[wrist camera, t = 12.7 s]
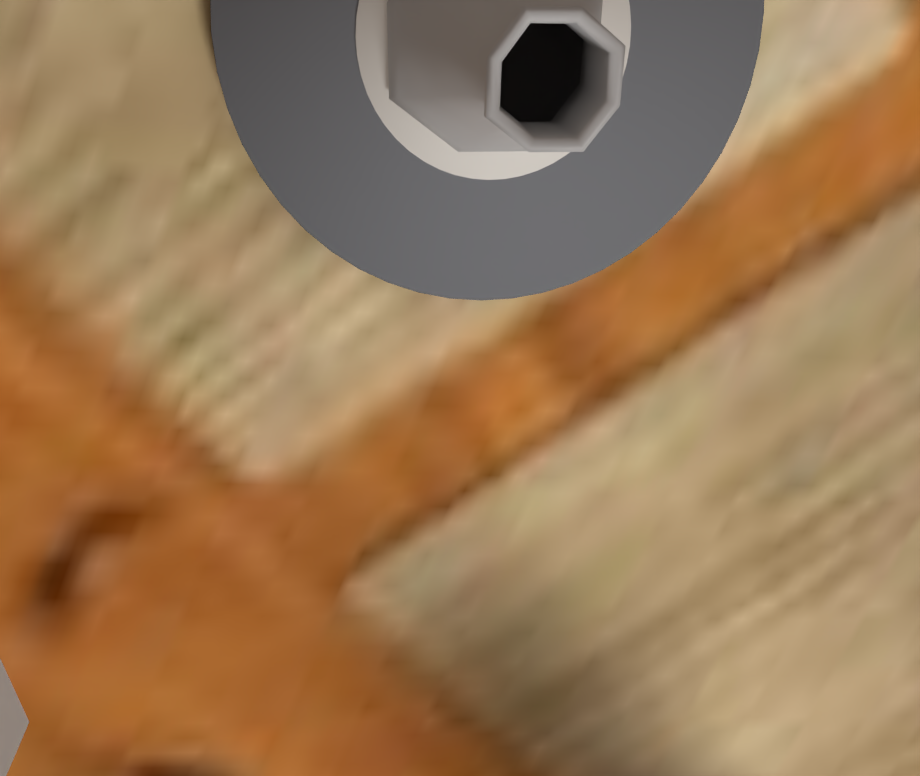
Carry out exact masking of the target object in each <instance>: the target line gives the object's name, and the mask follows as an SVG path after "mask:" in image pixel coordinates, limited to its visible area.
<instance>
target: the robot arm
mask: <svg viewBox="0 0 920 776" xmlns="http://www.w3.org/2000/svg"><path fill="white" fill-rule="evenodd" d="M28 724H29V721H28V718H27V716H26V714H25V712H24V710H23V707H22V705H21V703H20V701H19V699H18V697H17V694H16V692H15V690H14V688H13V686H12V684H11V681H10V679H9V677H8V675H7V673H6V671H5V668H4V666H3V664H2V662H1V660H0V776H6V775H7V773H8V770H9V768H10V766H11V763H12V761H13V759H14V756H15V754H16V752H17V749H18V747H19V745H20V742H21V740H22V738H23V735H24V733H25V731H26V728H27V726H28Z"/></svg>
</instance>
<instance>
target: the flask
mask: <svg viewBox="0 0 920 776" xmlns="http://www.w3.org/2000/svg"><path fill="white" fill-rule="evenodd" d="M602 3H603V0H388V2H387V33H388V77H389V99H390V100H391V101H393V102H394V103H395V104H396V105H398V106H399V107H400V108H402V109H403V110H404V111H406V112H407V113H408V114H409V115H411V116H412V117H413V118H415V119H416V120H417V121H419V122H420V123H421V124H422V125H424V126H425V127H426V128H428V129H429V130H430V131H432V132H433V133H434V134H436V135H437V136H438V137H439V138H441V139H442V140H443V141H445V142H446V143H447V144H449V145H450V146H451V147H452V148H454V149H455V150H456V151H458V152H499V151H528V152H584V150H585V149H586V148H587V147H588V145H589V144H590V143H591V142H592V140H593V139H594V138H595V137H596V135H597V134H598V133H599V132H600V130H601V129H602V128H603V127H604V125H605V124H606V123H607V122H608V120H609V119H610V118H611V117H612V115H613V114H614V113H615V111H616V110H617V109H618V108H619V106H620V100H621V89H622V79H623V68H624V57H625V47H626V46H625V45H624V44H623V43H622V42H621V41H620V40H619V39H618V38H617V37H615V36H614V35H613V34H612V33H611V32H610V31H609V30H608V29H607V28H605V27H604V26H603V25H602V24H601V16H602Z"/></svg>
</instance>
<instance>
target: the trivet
mask: <svg viewBox="0 0 920 776" xmlns="http://www.w3.org/2000/svg"><path fill="white" fill-rule="evenodd" d="M210 2H211V33H212V40H213V47H214V53H215V60H216V67H217V73H218V76H219V80H220V83H221V87H222V91H223V94H224V98H225V101H226V105H227V109H228V111H229V114H230V116H231V118H232V121H233V123H234V126H235V128H236V131H237V133H238V135H239V138H240V140H241V143H242V145H243V147H244V148H245V150H246V152H247V154H248V155H249V157H250V159H251V161H252V162H253V164H254V166H255V168H256V170H257V171H258V173H259V175H260V177H261V178H262V179H263V181H264V182H265V183H266V185H267V186H268V187H269V189H270V190H271V191H272V193H273V194H274V195H275V197H276V198H277V200H278V201H279V202H280V204H281V205H282V206H283V207H284V208H285V209H286V210H287V211H288V212H289V213H290V214H291V215H292V217H293V218H294V219H295V220H296V221H297V222H298V223H299V224H300V225H301V226H302V227H303V228H304V229H305V230H306V231H307V232H308V233H310V234H311V235H312V236H313V237H314V238H316V239H317V240H318V241H319V242H321V243H322V244H323V245H324V246H325V247H327V248H328V249H329V250H330V251H332V252H333V253H335V254H336V255H338V256H339V257H341V258H343V259H344V260H346V261H347V262H349V263H351V264H352V265H354V266H355V267H357V268H359V269H360V270H363V271H365V272H367V273H369V274H371V275H373V276H375V277H377V278H380V279H382V280H384V281H386V282H388V283H391V284H394V285H397V286H400V287H403V288H407V289H410V290H413V291H416V292H419V293H424V294H430V295H435V296H440V297H446V298H453V299H469V300H493V299H509V298H517V297H522V296H527V295H533V294H538V293H543V292H546V291H550V290H553V289H556V288H559V287H562V286H565V285H569V284H572V283H574V282H577V281H579V280H581V279H583V278H585V277H588V276H590V275H592V274H594V273H596V272H599V271H601V270H603V269H605V268H606V267H608V266H610V265H611V264H613V263H615V262H616V261H618V260H620V259H621V258H623V257H624V256H626V255H628V254H629V253H631V252H632V251H634V250H635V249H636V248H637V247H639V246H640V245H641V244H643V243H644V242H645V241H646V240H648V239H649V238H650V237H652V236H653V235H654V234H655V233H657V232H658V231H659V230H660V229H661V228H662V227H663V226H664V225H665V224H666V223H667V222H668V221H669V220H670V219H671V218H672V217H673V216H674V215H675V214H676V213H677V212H678V211H679V210H680V209H681V208H682V207H683V206H684V204H685V203H686V202H687V201H688V199H689V198H690V197H691V196H692V195H693V193H694V192H695V191H696V190H697V188H698V187H699V186H700V185H701V184H702V182H703V181H704V179H705V178H706V176H707V175H708V173H709V171H710V170H711V168H712V167H713V165H714V164H715V162H716V161H717V159H718V158H719V156H720V154H721V153H722V151H723V149H724V147H725V145H726V143H727V141H728V139H729V137H730V135H731V133H732V131H733V129H734V127H735V125H736V123H737V121H738V118H739V115H740V113H741V110H742V107H743V104H744V102H745V99H746V96H747V93H748V91H749V88H750V85H751V81H752V76H753V72H754V68H755V64H756V60H757V56H758V52H759V46H760V38H761V30H762V22H763V14H764V0H603V3H602V16H601V24H602V25H603V26H604V27H605V28H607V29H608V30H609V31H610V32H611V33H612V34H613V35H614V36H615V37H617V38H618V39H619V40H620V41H621V42H622V43H623V44H624V45H625V46H626V47H625V57H624V68H623V79H622V89H621V100H620V106H619V108H618V109H617V110H616V111H615V113H614V114H613V115H612V117H611V118H610V119H609V120H608V122H607V123H606V124H605V125H604V127H603V128H602V129H601V130H600V132H599V133H598V134H597V135H596V137H595V138H594V139H593V140H592V142H591V143H590V144H589V145H588V147H587V148H586V149H585V150H584V152H528V151H499V152H458V151H456V150H455V149H454V148H452V147H451V146H450V145H449V144H447V143H446V142H445V141H443V140H442V139H441V138H439V137H438V136H437V135H436V134H434V133H433V132H432V131H430V130H429V129H428V128H426V127H425V126H424V125H422V124H421V123H420V122H419V121H417V120H416V119H415V118H413V117H412V116H411V115H409V114H408V113H407V112H406V111H404V110H403V109H402V108H400V107H399V106H398V105H396V104H395V103H394V102H393V101H391V100H390V99H389V77H388V33H387V2H388V0H210Z"/></svg>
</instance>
